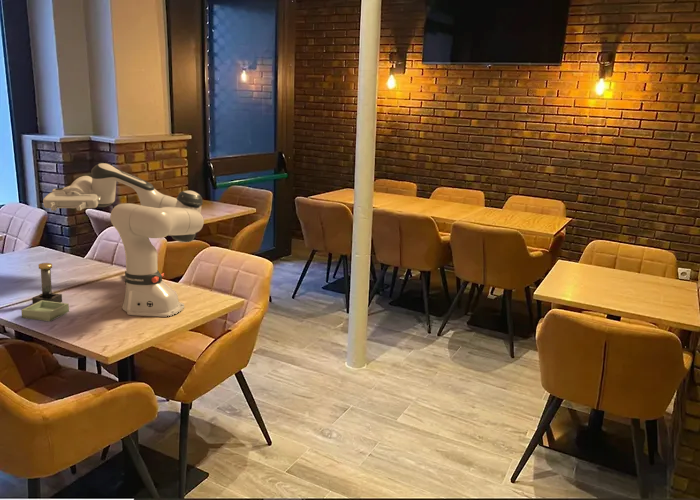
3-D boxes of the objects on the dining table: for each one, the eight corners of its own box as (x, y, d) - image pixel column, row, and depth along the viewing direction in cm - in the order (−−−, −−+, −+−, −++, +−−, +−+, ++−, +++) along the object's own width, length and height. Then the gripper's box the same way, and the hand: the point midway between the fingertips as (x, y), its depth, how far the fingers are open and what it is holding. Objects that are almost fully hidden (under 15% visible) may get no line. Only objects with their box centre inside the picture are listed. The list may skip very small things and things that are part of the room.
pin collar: (62, 301, 217) (61, 294, 216) (50, 307, 210) (49, 300, 209) (45, 299, 218) (44, 292, 217) (32, 305, 211) (32, 297, 210)
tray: (68, 311, 208) (68, 303, 207) (49, 321, 198) (49, 313, 197) (42, 308, 209) (41, 300, 208) (21, 317, 199) (21, 309, 198)
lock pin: (56, 302, 216) (54, 263, 212) (49, 306, 211) (46, 266, 208) (46, 301, 216) (43, 262, 213) (38, 304, 212) (35, 265, 208)
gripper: (103, 203, 241) (94, 216, 228) (51, 203, 238) (40, 216, 226) (101, 189, 238) (92, 201, 226) (49, 188, 235) (37, 201, 223)
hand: (65, 208), depth 225 cm, fingers open, 8 cm apart
